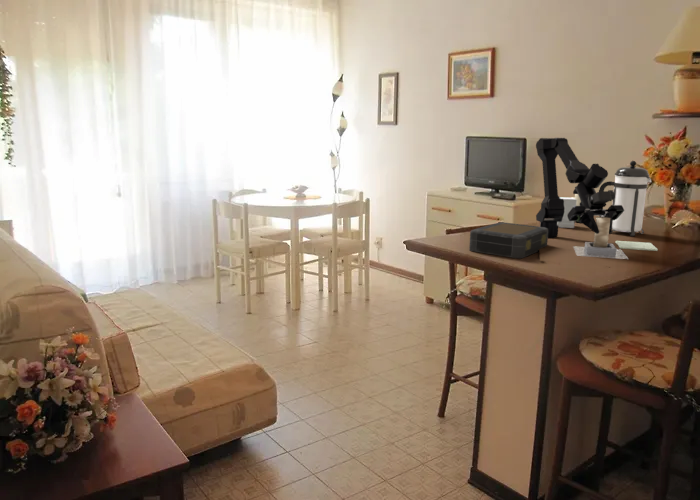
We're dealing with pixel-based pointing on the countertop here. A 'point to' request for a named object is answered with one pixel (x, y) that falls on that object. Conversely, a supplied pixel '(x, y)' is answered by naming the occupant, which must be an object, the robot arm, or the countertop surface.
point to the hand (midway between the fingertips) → (604, 232)
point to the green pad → (636, 245)
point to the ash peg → (602, 232)
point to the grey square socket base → (600, 251)
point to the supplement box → (568, 206)
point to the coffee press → (629, 197)
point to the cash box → (508, 239)
